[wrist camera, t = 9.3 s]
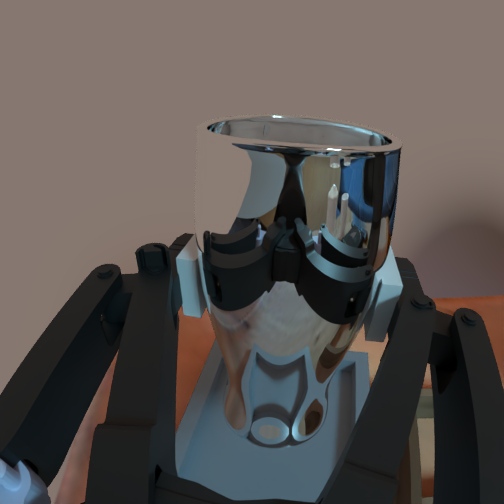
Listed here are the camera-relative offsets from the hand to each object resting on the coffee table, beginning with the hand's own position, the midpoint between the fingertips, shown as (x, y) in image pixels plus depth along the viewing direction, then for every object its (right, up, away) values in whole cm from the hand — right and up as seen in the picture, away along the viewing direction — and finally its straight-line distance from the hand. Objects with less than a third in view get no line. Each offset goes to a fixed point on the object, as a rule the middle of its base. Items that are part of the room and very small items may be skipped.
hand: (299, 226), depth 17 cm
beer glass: (-1, -10, 0) cm, 10 cm away
